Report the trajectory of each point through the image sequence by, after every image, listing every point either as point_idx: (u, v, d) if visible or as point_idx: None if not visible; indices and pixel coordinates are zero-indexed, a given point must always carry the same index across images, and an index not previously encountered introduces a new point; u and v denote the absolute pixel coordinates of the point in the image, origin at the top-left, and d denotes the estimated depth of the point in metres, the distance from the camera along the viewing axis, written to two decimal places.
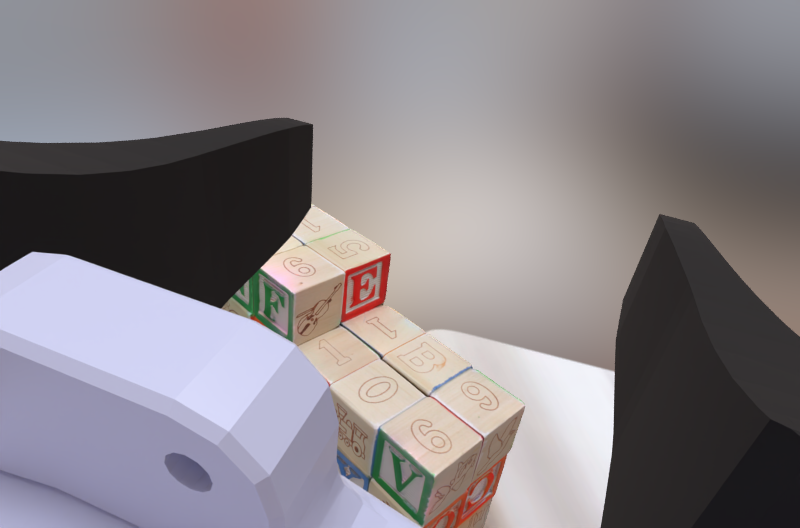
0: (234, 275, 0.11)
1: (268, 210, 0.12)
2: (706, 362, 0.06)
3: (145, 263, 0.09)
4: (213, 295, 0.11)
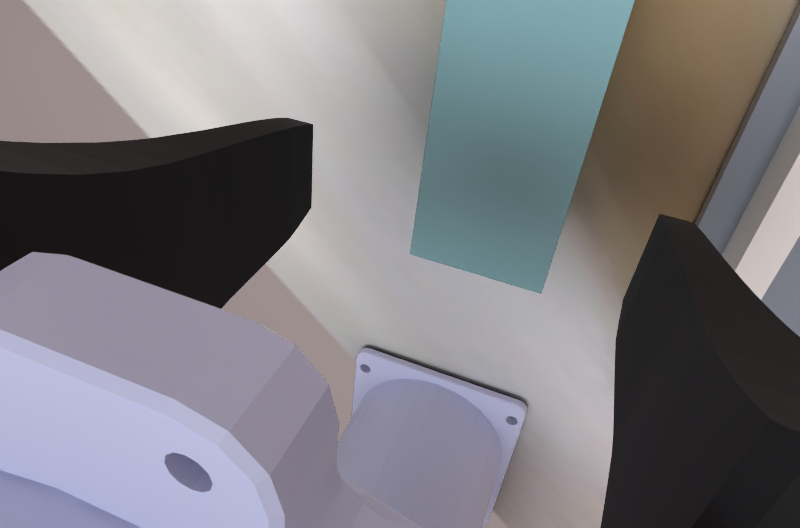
0: (234, 275, 0.11)
1: (268, 210, 0.12)
2: (707, 361, 0.06)
3: (145, 263, 0.09)
4: (214, 295, 0.11)
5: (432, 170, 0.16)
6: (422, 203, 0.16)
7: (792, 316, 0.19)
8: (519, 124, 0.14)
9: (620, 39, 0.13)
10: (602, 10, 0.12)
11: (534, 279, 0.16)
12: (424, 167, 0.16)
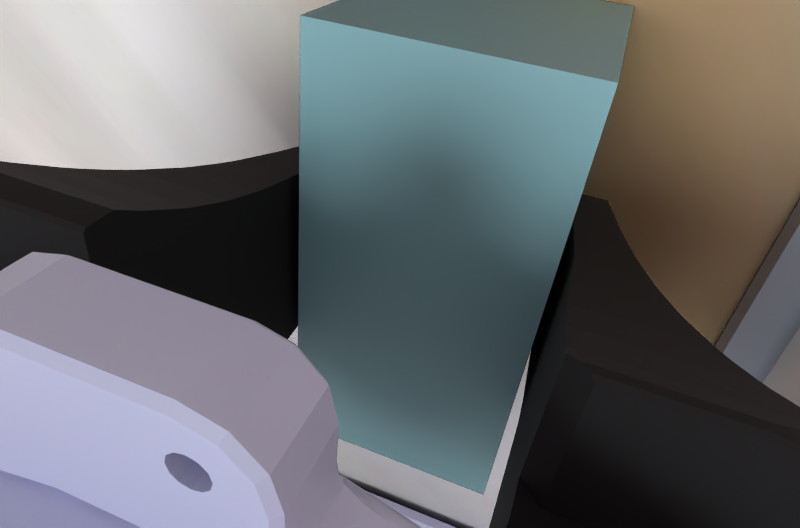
0: None
1: None
2: (562, 316, 0.07)
3: (234, 293, 0.08)
4: (287, 320, 0.10)
5: (312, 322, 0.10)
6: None
7: None
8: (431, 273, 0.09)
9: (589, 160, 0.07)
10: (556, 112, 0.07)
11: (472, 476, 0.11)
12: (301, 317, 0.10)
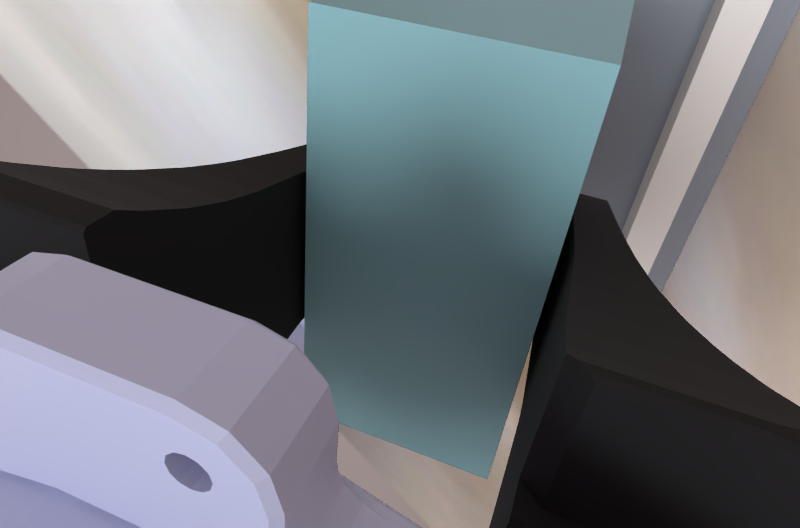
0: None
1: None
2: (563, 317, 0.07)
3: (234, 293, 0.08)
4: (287, 321, 0.10)
5: (319, 308, 0.11)
6: (311, 349, 0.11)
7: None
8: (436, 258, 0.09)
9: (592, 143, 0.07)
10: (560, 95, 0.07)
11: (476, 461, 0.11)
12: (307, 304, 0.11)
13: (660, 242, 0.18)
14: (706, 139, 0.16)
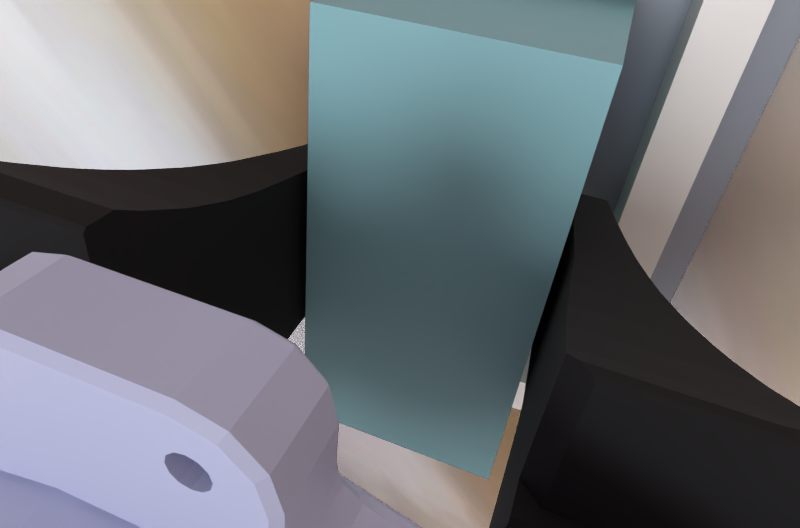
0: (305, 299, 0.11)
1: None
2: (562, 317, 0.07)
3: (234, 294, 0.08)
4: (287, 321, 0.10)
5: (320, 308, 0.11)
6: (312, 349, 0.11)
7: None
8: (438, 258, 0.09)
9: (594, 143, 0.07)
10: (562, 95, 0.07)
11: (477, 461, 0.11)
12: (308, 304, 0.11)
13: None
14: (675, 212, 0.11)
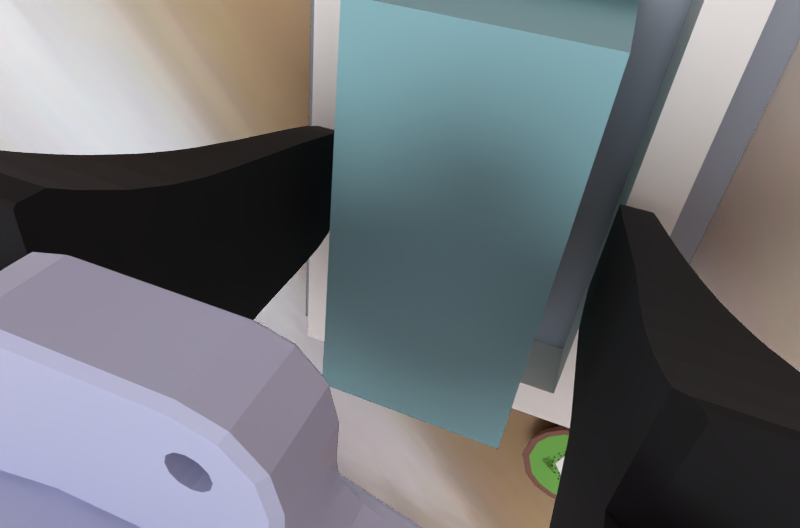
0: (266, 286, 0.11)
1: (300, 220, 0.11)
2: (638, 341, 0.06)
3: (185, 277, 0.08)
4: (247, 306, 0.11)
5: (340, 285, 0.11)
6: (332, 324, 0.12)
7: None
8: (455, 234, 0.10)
9: (603, 125, 0.08)
10: (574, 81, 0.08)
11: (487, 431, 0.12)
12: (329, 280, 0.11)
13: None
14: (675, 213, 0.11)
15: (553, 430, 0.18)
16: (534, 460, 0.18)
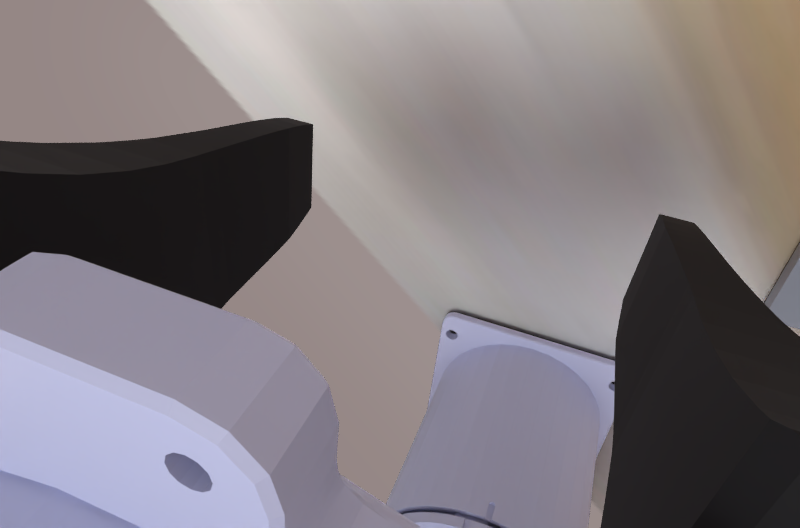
0: (234, 275, 0.11)
1: (268, 210, 0.12)
2: (707, 362, 0.06)
3: (145, 263, 0.09)
4: (213, 295, 0.11)
5: None
6: None
7: None
8: None
9: None
10: None
11: None
12: None
13: None
14: None
15: None
16: None
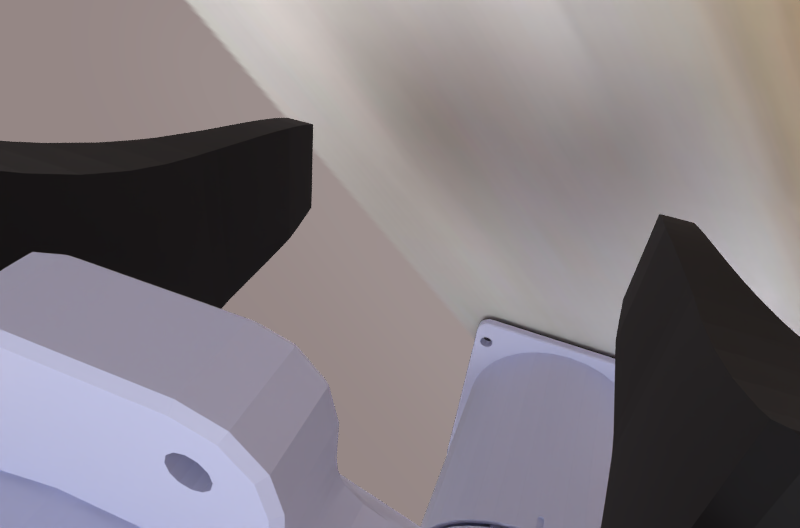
0: (234, 275, 0.11)
1: (268, 210, 0.12)
2: (707, 362, 0.06)
3: (145, 263, 0.09)
4: (214, 295, 0.11)
5: None
6: None
7: None
8: None
9: None
10: None
11: None
12: None
13: None
14: None
15: None
16: None
